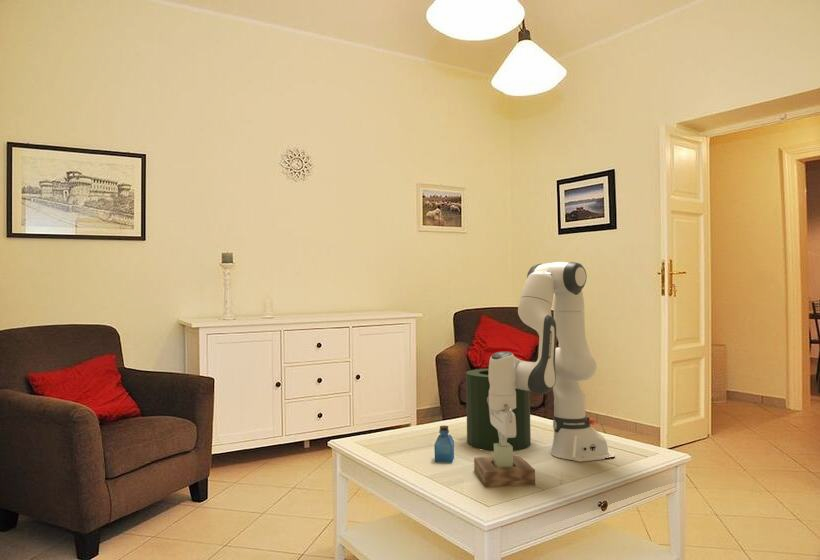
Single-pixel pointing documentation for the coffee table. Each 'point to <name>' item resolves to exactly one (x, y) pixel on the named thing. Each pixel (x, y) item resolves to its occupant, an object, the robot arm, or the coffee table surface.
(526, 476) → the walnut stand
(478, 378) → the flower pot
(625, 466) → the coffee table surface
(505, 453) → the sage plug
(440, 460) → the perfume bottle
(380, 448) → the coffee table surface
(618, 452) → the coffee table surface
